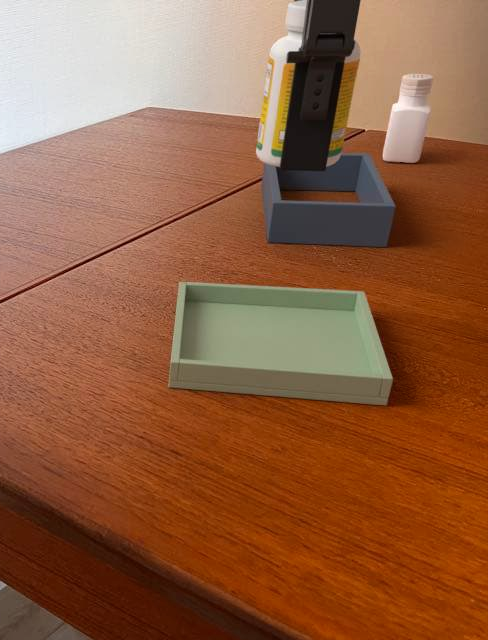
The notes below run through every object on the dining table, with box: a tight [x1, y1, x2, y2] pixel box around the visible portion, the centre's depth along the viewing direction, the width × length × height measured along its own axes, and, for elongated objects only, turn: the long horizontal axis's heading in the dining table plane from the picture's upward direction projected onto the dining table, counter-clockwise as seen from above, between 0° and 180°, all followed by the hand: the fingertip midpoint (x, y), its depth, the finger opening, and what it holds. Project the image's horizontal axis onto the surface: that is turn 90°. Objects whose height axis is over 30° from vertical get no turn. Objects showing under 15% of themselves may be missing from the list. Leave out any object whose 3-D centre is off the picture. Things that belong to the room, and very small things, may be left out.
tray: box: [167, 281, 394, 407], centre depth 64 cm, size 14×14×2 cm
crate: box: [260, 152, 397, 248], centre depth 88 cm, size 11×18×4 cm, turn 165°
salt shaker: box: [382, 73, 434, 164], centre depth 101 cm, size 4×4×10 cm
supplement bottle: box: [255, 0, 361, 167], centre depth 55 cm, size 5×5×10 cm
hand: (299, 155), depth 57 cm, fingers closed on supplement bottle, 5 cm apart
